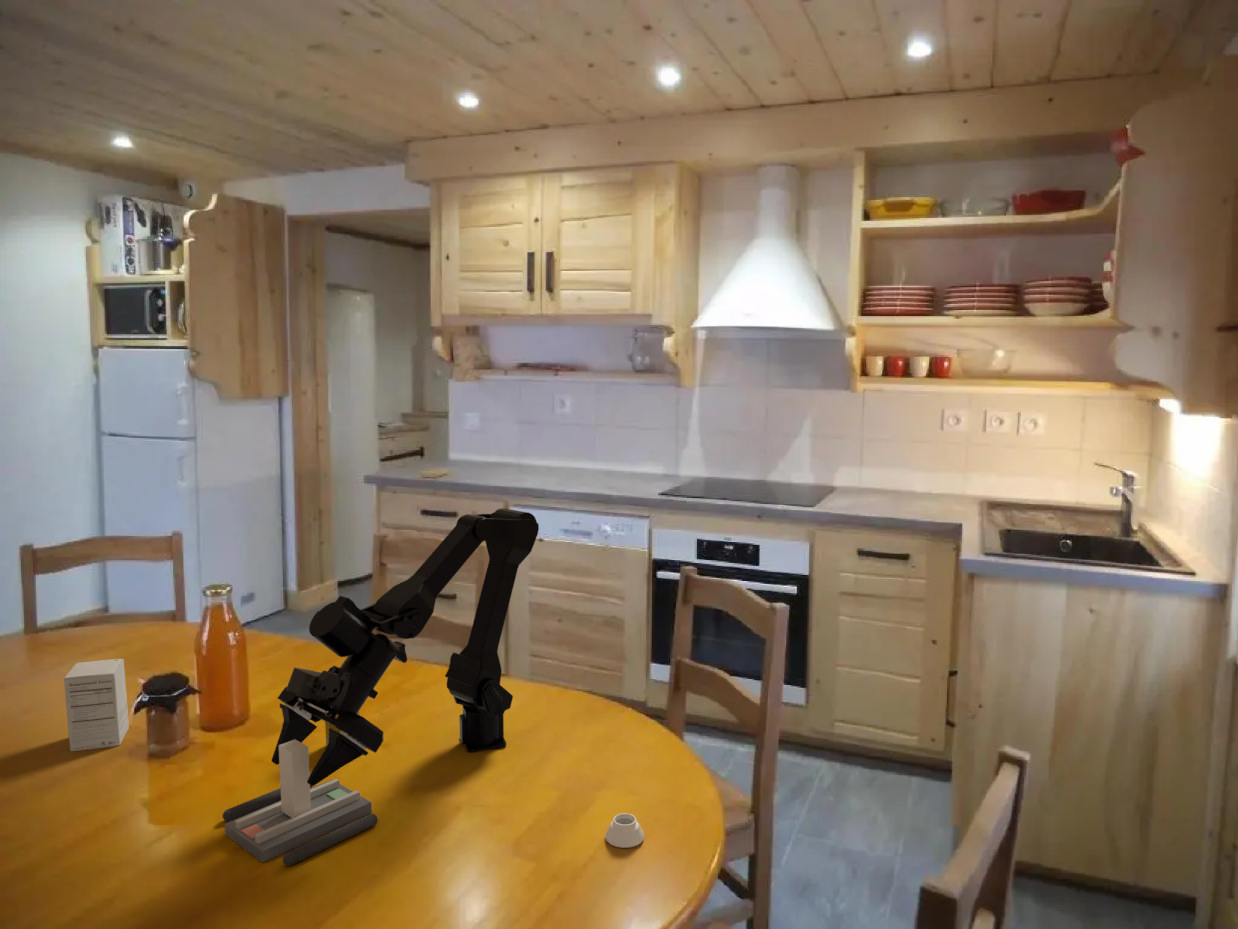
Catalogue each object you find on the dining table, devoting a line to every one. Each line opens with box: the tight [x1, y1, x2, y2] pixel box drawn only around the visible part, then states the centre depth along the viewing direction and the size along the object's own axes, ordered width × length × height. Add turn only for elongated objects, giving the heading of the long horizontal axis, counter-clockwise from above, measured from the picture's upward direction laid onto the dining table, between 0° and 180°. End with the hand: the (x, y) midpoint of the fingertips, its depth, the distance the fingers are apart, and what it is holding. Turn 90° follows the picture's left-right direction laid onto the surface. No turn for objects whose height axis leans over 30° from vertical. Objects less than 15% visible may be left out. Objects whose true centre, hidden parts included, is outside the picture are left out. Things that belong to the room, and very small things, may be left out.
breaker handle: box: [278, 740, 311, 818], centre depth 117 cm, size 2×3×10 cm
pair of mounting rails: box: [222, 785, 379, 867], centre depth 118 cm, size 14×18×2 cm
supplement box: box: [63, 658, 130, 752], centre depth 143 cm, size 7×7×13 cm
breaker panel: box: [224, 778, 373, 863], centre depth 118 cm, size 16×10×2 cm, turn 140°
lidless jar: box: [605, 812, 645, 849], centre depth 115 cm, size 5×3×5 cm
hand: (291, 773), depth 116 cm, fingers open, 9 cm apart
